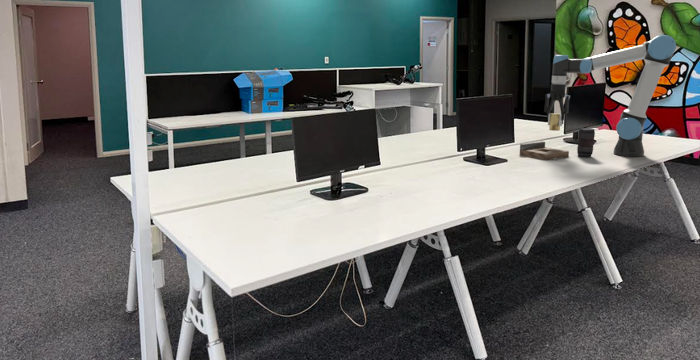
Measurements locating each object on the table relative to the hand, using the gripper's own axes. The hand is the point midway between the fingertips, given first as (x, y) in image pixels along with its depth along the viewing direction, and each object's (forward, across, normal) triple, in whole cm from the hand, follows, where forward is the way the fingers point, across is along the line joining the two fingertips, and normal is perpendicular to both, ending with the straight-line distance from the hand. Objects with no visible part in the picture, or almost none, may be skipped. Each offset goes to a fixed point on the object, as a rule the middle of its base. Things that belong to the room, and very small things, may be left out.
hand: (554, 125), depth 313 cm
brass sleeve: (+3, 0, 0) cm, 3 cm away
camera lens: (+15, +18, -2) cm, 24 cm away
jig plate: (+15, +1, -15) cm, 21 cm away
